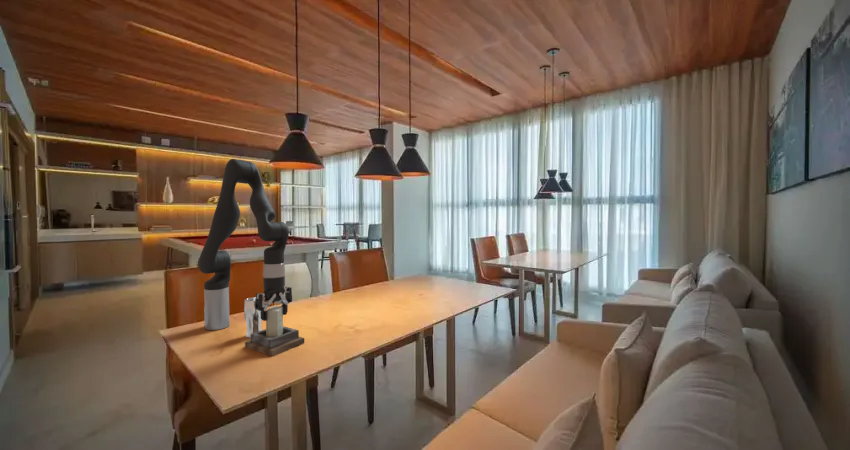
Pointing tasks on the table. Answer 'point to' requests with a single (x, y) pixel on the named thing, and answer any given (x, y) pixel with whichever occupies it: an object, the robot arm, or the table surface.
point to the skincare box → (274, 321)
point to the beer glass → (252, 317)
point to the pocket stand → (274, 341)
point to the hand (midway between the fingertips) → (274, 317)
